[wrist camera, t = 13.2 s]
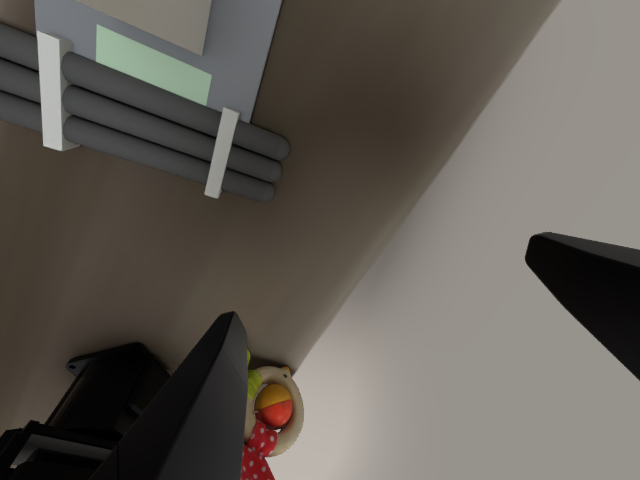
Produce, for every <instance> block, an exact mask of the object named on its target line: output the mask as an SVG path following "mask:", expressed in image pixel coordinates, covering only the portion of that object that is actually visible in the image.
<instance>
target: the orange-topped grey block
mask: <svg viewBox="0 0 640 480" xmlns="http://www.w3.org/2000/svg"><path fill="white" fill-rule="evenodd" d="M75 1H78V2H80V3H82V4H84V5H87V6H89V7H91V8H94V9H96V10H98V11H100V12H103V13H105V14H107V15H110V16H112V17H114V18H116V19H119V20H121V21H123V22H125V23H128V24H130V25H132V26H135V27H137V28H139V29H141V30H144V31H146V32H148V33H150V34H153V35H155V36H157V37H160V38H162V39H164V40H166V41H169V42H171V43H173V44H175V45H178V46H180V47H182V48H185V49H187V50H189V51H191V52H194V53H196V54H198V55H200V56H202V53H203V48H204V42H205V36H206V30H207V24H208V19H209V13H210V7H211V1H212V0H75Z"/></svg>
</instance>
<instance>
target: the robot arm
mask: <svg viewBox="0 0 640 480" xmlns="http://www.w3.org/2000/svg"><path fill="white" fill-rule="evenodd" d="M525 261H526V263H527V265H528V266H529V268H530V269H531V270H532V271H533V272H534V273H535V275H537V277H538V278H539V279H540V280H541V282H542V283H543V284H544V285H545V286H546V287H547V288H548V290H549V291H550V292H551V293H552V294H553V295H554V297H555V298H556V299H557V300H558V301H559V302H560V303H561V304H562V305H563V307H564V308H565V309H566V310H567V311H568V312H569V313H570V314H571V315H572V316H573V317H574V318H575V319H577V321H579V322H580V323H581V324H582V325H583V326H584V327H585V328H586V329H587V330H588V331H589V332H590V333H591V334H592V335H593V336H594V337H595V338H596V339H597V340H598V341H599V342H601V344H602V345H603V346H604V347H605V348H607V350H608V351H610V352H611V353H612V354H613V355H614V356H615V357H616V358H617V359H618V360H619V361H620V362H621V363H622V364H623V365H624V366H625V367H626V368H627V369H628V370H629V371H630V372H631V373H632V374H633V375H634V376H635V377H636V378H637V379H639V381H640V250H638V249H633V248H628V247H623V246H618V245H613V244H608V243H603V242H598V241H592V240H587V239H582V238H577V237H572V236H567V235H562V234H557V233H552V232H543V233H539V234H535V235H533V236H532V237H531V238H530V240H529V244H528V247H527V251H526V255H525ZM66 368H67V369H68V370H69V371H70V372H71V373H73V374H74V375H75V376H76V379H75V380H74V382H73V383H72V385H71V386H70V388H69V389H68V390H67V392H66V393H65V395H64V396H63V398H62V399H61V401H60V402H59V404H58V405H57V406H56V408H55V409H54V411H53V412H52V414H51V415H50V417H49V418H48V420H47V421H46V422H45V424H39V423H40V422H38V421H34V420H30V421H29V422H28V423H27V425H26V426H25V427H24V428H19V429H12V430H6V431H5V432H4V433H3V435H2V436H1V437H0V480H241V468H242V456H243V444H244V432H245V421H246V409H247V396H248V363H247V334H246V330H245V328H244V326H243V324H242V322H241V320H240V318H239V316H238V314H237V313H236V312H235V311H231V312H227V313H223V314H221V315H220V316H219V317H218V318H217V319H216V320H215V322H214V323H213V324H212V325H211V327H210V328H209V329H208V330H207V332H206V333H205V334H204V336H203V337H202V338H201V339H200V341H199V342H198V343H197V344H196V346H195V347H194V348H193V349H192V351H191V352H190V353H189V354H188V356H187V357H186V358H185V359H184V361H183V362H182V363H181V364H180V366H179V367H178V368H177V370H176V371H175V372H174V373H173V375H172V376H171V377H169V376H168V374H167V373H166V372H165V371H164V370H163V369H162V368H161V366H160V365H159V364H158V363H157V362H156V361H155V360H154V358H153V357H152V356H151V355H150V354H149V353H148V352H147V350H146V349H145V348H144V347H143V346H142V345H141V344H137V343H135V344H130V345H126V346H123V347H119V348H115V349H111V350H107V351H103V352H99V353H95V354H91V355H87V356H83V357H79V358H76V359H72V360H70V361H69V362H68V363H67V364H66ZM12 464H13V465H18V466H17V467H16V468H15V469H14V468H10V466H11V465H12Z"/></svg>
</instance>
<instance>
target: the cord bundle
mask: <svg viewBox="0 0 640 480" xmlns="http://www.w3.org/2000/svg"><path fill="white" fill-rule="evenodd" d="M0 57H2V58H5V59H8V60H11V61H13V62H16V63H19V64H21V65H24V66H27V67H29V68H32V69H35V70H37V71H39V72H36V71H33V70H31V69H28V68H25V67H23V66H20V65H17V64H14V63H12V62H9V61H6V60H4V59H1V58H0V120H3V121H6V122H9V123H12V124H16V125H19V126H22V127H25V128H28V129H31V130H35V131H38V132H41V133H43V146H46V147H49V148H53V149H56V150H59V151H65V150H69V149H72V148H75V147H79V146H80V145H82V146H85V147H88V148H92V149H95V150H98V151H101V152H104V153H107V154H111V155H114V156H117V157H120V158H123V159H126V160H130V161H133V162H136V163H139V164H142V165H145V166H149V167H152V168H155V169H158V170H161V171H164V172H168V173H171V174H174V175H177V176H180V177H183V178H187V179H190V180H193V181H196V182H199V183H202V184H206V189H205V194H204V195H207V196H210V197H214V198H217V199H218V197H219V195H220V193H221V191H222V190H225V191H228V192H231V193H234V194H237V195H240V196H244V197H247V198H250V199H253V200H256V201H259V202H269V201H270V200H272V198H273V197H274V194H275V191H274V187H273V186H272V185H271V184H270V183H269V182H274V181H277V180H278V179H279V178H280V176H281V174H282V169H281V166H280V164H279V163H278V162H277V161H275V160H272V159H270V158H273V159H276V160H281V159H284V158H285V157H286V156H287V155H288V153H289V144H288V142H287V140H286V139H285V138H283V137H281V136H279V135H276V134H274V133H271V132H269V131H266V130H264V129H261V128H259V127H256V126H254V125H251V124H249V123H247V122H244V121H242V120H239V116H240V112H239V111H237V110H234V109H232V108H229V107H227V106H225V107H223V112H219V111H217V110H214V109H212V108H209V107H207V106H204V105H202V104H199V103H197V102H194V101H192V100H189V99H187V98H184V97H182V96H180V95H177V94H175V93H172V92H170V91H167V90H165V89H162V88H160V87H157V86H155V85H152V84H150V83H147V82H145V81H142V80H140V79H137V78H135V77H133V76H130V75H128V74H125V73H123V72H120V71H118V70H115V69H113V68H110V67H108V66H105V65H103V64H100V63H98V62H96V61H93V60H91V59H88V58H86V57H83V56H81V55H78V54H76V53H73V52H72V42H70V41H67V40H65V39H63V38H60V37H58V36H55V35H53V34H49V33H45V32H41V31H37V38H36V37H34V36H31V35H29V34H26V33H24V32H21V31H19V30H17V29H14V28H12V27H9V26H7V25H4V24H2V23H0ZM80 87H83V88H85V89H88V90H91V91H94V92H96V93H99V94H102V95H104V96H107V97H110V98H112V99H115V100H118V101H120V102H123V103H126V104H128V105H131V106H134V107H136V108H139V109H142V110H144V111H147V112H150V113H152V114H155V115H158V116H160V117H163V118H166V119H168V120H171V121H174V122H177V123H179V124H182V125H185V126H187V127H190V128H193V129H195V130H198V131H201V132H203V133H206V134H209V135H211V136H214V137H217V139H216V138H213V137H211V136H208V135H205V134H203V133H200V132H197V131H195V130H192V129H189V128H186V127H184V126H181V125H178V124H176V123H173V122H170V121H168V120H165V119H162V118H160V117H157V116H154V115H152V114H149V113H146V112H143V111H141V110H138V109H135V108H133V107H130V106H127V105H125V104H122V103H119V102H117V101H114V100H111V99H109V98H106V97H103V96H100V95H98V94H95V93H92V92H90V91H87V90H84V89H82V88H80ZM1 90H3V91H1ZM4 91H6V92H4ZM7 92H9V93H7ZM10 93H12V94H10ZM13 94H15V95H18V96H21V97H23V98H21V97H18V96H15V95H13ZM24 98H26V99H24ZM27 99H29V100H27ZM30 100H32V101H30ZM33 101H35V102H33ZM36 102H38V103H36ZM39 103H41V104H39ZM80 117H82V118H80ZM83 118H85V119H83ZM86 119H88V120H90V121H88V120H86ZM91 121H93V122H91ZM94 122H96V123H94ZM97 123H99V124H97ZM100 124H102V125H100ZM103 125H105V126H103ZM106 126H108V127H106ZM109 127H111V128H109ZM112 128H114V129H112ZM115 129H117V130H115ZM118 130H120V131H118ZM121 131H122V132H121ZM123 132H125V133H123ZM126 133H128V134H126ZM129 134H131V135H129ZM132 135H134V136H132ZM135 136H137V137H135ZM138 137H140V138H138ZM141 138H143V139H141ZM144 139H146V140H144ZM147 140H149V141H147ZM150 141H152V142H150ZM153 142H155V143H153ZM156 143H157V144H156ZM158 144H160V145H158ZM233 144H235V145H238V146H241V147H243V148H246V149H249V150H251V151H254V152H257V153H259V154H262V155H265V156H268V157H270V158H267V157H264V156H262V155H259V154H256V153H254V152H251V151H248V150H246V149H243V148H240V147H238V146H235V145H233ZM161 145H163V146H161ZM164 146H166V147H164ZM167 147H169V148H167ZM170 148H172V149H170ZM173 149H175V150H173ZM176 150H178V151H176ZM179 151H181V152H179ZM182 152H184V153H182ZM185 153H187V154H185ZM188 154H189V155H188ZM191 155H192V156H191ZM193 156H195V157H193ZM196 157H198V158H196ZM199 158H201V159H199ZM202 159H204V160H202ZM205 160H207V161H205ZM208 161H210V162H208ZM228 168H230V169H228ZM231 169H233V170H231ZM234 170H236V171H234ZM237 171H239V172H237ZM240 172H242V173H240ZM243 173H245V174H243ZM246 174H248V175H246ZM249 175H251V176H249ZM252 176H253V177H252ZM255 177H256V178H255ZM258 178H259V179H258ZM261 179H262V180H261ZM263 180H265V181H263ZM266 181H268V182H266Z"/></svg>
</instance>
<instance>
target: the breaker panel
mask: <svg viewBox="0 0 640 480" xmlns="http://www.w3.org/2000/svg"><path fill="white" fill-rule="evenodd" d="M34 3H35V21H36V38H37V31H41V32H45V33H49V34H53V35H55V36H58V37H60V38H63V39H65V40H67V41H70V42H72V52H73V53H76V54H78V55H81V56H83V57H86V58H88V59H91V60H93V61H96V62H98V63H100V64H103V65H105V66H108V67H110V68H113V69H115V70H118V71H120V72H123V73H125V74H128V75H130V76H133V77H135V78H137V79H140V80H142V81H145V82H147V83H150V84H152V85H155V86H157V87H160V88H162V89H165V90H167V91H170V92H172V93H175V94H177V95H180V96H182V97H184V98H187V99H189V100H192V101H194V102H197V103H199V104H202V105H204V106H207V107H209V108H212V109H214V110H217V111H219V112H223V107H225V106H227V107H229V108H232V109H234V110H237V111H239V112H240V116H239V120H242V121H244V122H247V123H249V124H250V120H251V116H252V113H253V109H254V105H255V101H256V98H257V94H258V90H259V86H260V83H261V79H262V75H263V71H264V68H265V64H266V60H267V56H268V53H269V49H270V45H271V41H272V38H273V34H274V30H275V26H276V23H277V19H278V15H279V11H280V8H281V4H282V0H212V1H211V7H210V13H209V19H208V24H207V30H206V36H205V42H204V48H203V53H202V56H200V55H198V54H196V53H194V52H191V51H189V50H187V49H185V48H182V47H180V46H178V45H175V44H173V43H171V42H169V41H166V40H164V39H162V38H160V37H157V36H155V35H153V34H150V33H148V32H146V31H144V30H141V29H139V28H137V27H135V26H132V25H130V24H128V23H125V22H123V21H121V20H119V19H116V18H114V17H112V16H110V15H107V14H105V13H103V12H100V11H98V10H96V9H94V8H91V7H89V6H87V5H84V4H82V3H80V2H78V1H75V0H34Z"/></svg>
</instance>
